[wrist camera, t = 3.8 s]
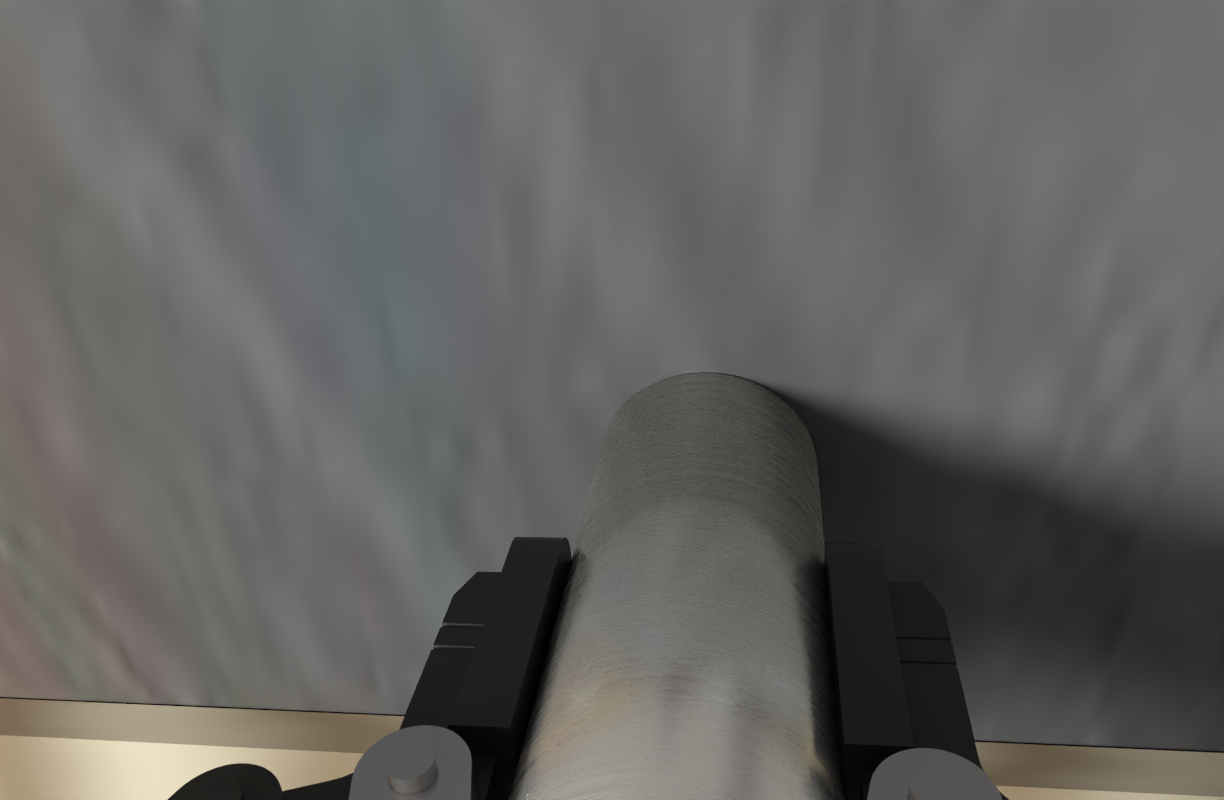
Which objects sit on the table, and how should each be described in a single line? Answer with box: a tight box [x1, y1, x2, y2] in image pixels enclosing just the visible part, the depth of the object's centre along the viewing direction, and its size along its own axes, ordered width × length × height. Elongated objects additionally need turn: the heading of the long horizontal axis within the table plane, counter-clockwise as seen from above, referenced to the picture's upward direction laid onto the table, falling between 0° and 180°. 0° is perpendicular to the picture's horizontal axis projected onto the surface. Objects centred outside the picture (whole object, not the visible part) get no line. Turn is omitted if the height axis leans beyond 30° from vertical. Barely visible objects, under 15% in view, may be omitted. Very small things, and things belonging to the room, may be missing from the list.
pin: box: [508, 373, 846, 800], centre depth 13 cm, size 4×4×10 cm
